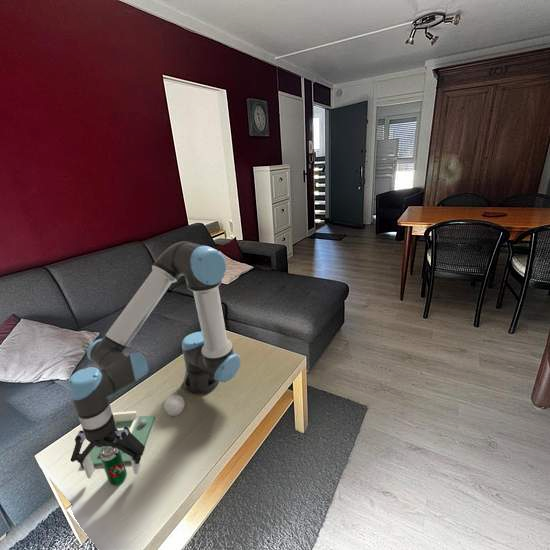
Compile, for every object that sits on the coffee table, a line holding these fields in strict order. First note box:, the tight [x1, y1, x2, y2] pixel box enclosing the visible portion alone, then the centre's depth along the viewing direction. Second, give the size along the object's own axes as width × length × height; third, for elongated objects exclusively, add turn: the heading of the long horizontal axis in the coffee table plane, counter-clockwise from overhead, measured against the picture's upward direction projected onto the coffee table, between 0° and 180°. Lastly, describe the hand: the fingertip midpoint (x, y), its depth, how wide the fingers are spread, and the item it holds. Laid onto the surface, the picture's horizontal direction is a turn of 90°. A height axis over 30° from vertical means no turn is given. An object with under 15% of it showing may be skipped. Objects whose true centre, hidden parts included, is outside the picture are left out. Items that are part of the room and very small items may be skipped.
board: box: [88, 410, 156, 467], centre depth 105 cm, size 18×18×5 cm
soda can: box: [100, 446, 128, 486], centre depth 91 cm, size 5×5×12 cm
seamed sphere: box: [156, 394, 185, 416], centre depth 115 cm, size 10×7×7 cm
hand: (114, 471), depth 92 cm, fingers open, 13 cm apart
